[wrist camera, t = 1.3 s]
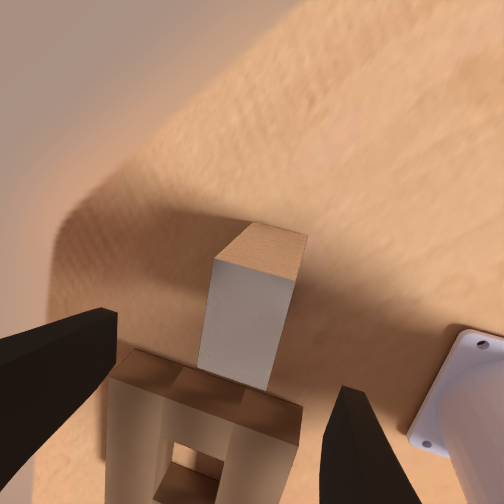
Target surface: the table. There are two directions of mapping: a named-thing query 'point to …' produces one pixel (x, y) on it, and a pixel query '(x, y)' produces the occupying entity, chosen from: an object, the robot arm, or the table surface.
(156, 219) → the table surface
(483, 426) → the robot arm
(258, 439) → the well block
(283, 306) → the wedge block
